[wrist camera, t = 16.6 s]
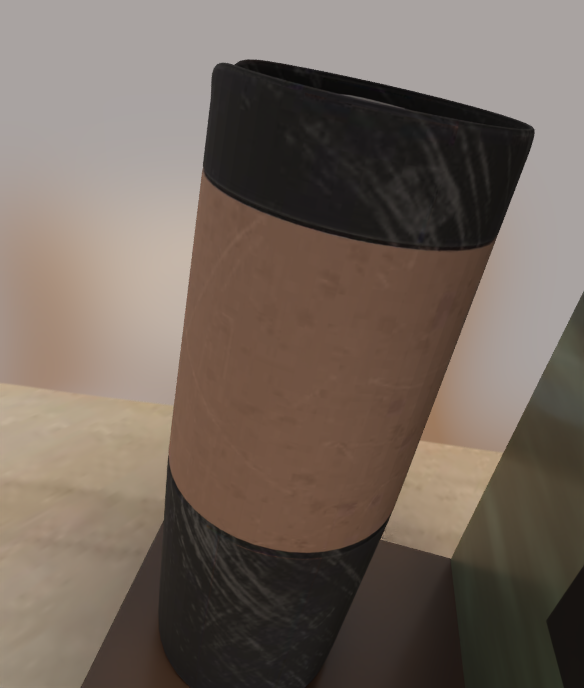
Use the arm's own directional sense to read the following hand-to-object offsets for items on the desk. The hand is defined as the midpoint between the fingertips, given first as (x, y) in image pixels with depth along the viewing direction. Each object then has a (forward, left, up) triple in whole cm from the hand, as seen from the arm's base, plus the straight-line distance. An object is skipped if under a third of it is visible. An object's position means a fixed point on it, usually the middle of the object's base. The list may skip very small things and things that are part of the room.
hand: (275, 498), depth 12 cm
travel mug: (0, -5, -12) cm, 13 cm away
